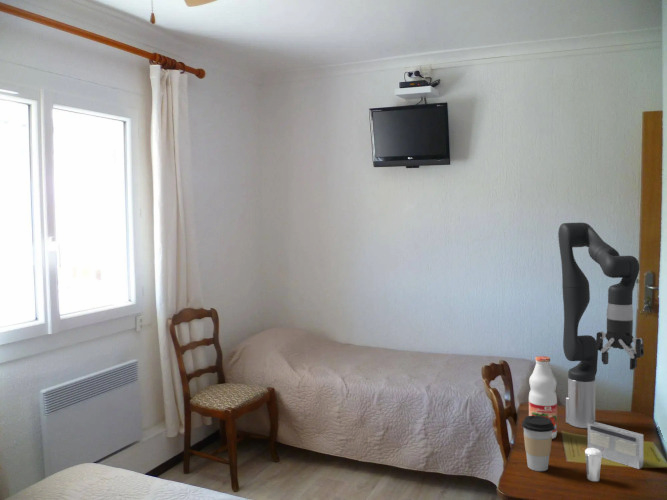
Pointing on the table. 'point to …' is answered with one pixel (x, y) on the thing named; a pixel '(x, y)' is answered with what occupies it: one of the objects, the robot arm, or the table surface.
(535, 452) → the coffee cup
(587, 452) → the milkshake
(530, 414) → the fruit juice
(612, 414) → the table surface
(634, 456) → the panel
